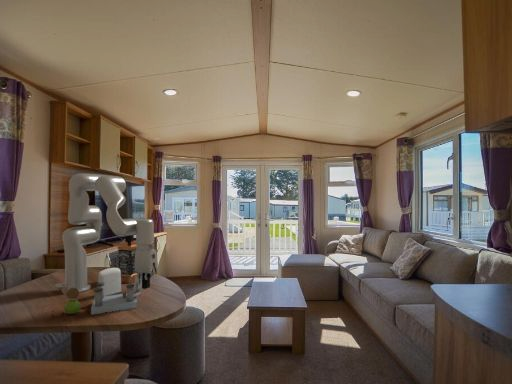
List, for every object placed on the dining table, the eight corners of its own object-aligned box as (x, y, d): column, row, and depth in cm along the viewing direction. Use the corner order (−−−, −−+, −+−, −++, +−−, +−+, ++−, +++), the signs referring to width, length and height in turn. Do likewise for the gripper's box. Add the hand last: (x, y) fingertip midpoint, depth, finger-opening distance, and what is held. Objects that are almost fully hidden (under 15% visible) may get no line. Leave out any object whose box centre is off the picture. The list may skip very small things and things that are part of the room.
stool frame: (91, 314, 120) (90, 291, 120) (94, 303, 133) (94, 282, 133) (137, 307, 127) (136, 286, 127) (136, 297, 140) (135, 277, 140)
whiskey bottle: (115, 281, 167) (115, 223, 167) (129, 277, 176) (128, 221, 176) (130, 283, 163) (129, 223, 163) (143, 278, 172) (142, 222, 172)
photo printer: (100, 298, 140) (100, 271, 140) (96, 296, 143) (96, 269, 143) (122, 292, 148) (122, 266, 148) (118, 290, 151) (118, 265, 151)
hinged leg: (131, 298, 130) (131, 279, 130) (126, 298, 130) (125, 279, 130) (143, 292, 138) (142, 274, 138) (137, 292, 138) (137, 274, 139)
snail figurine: (66, 311, 124) (66, 282, 124) (83, 310, 125) (82, 281, 125) (59, 316, 119) (58, 286, 119) (76, 315, 119) (75, 285, 120)
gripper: (164, 246, 135) (164, 287, 135) (140, 244, 142) (140, 283, 142) (151, 249, 128) (151, 292, 128) (126, 247, 135) (127, 288, 135)
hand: (146, 287), depth 135 cm, fingers closed
